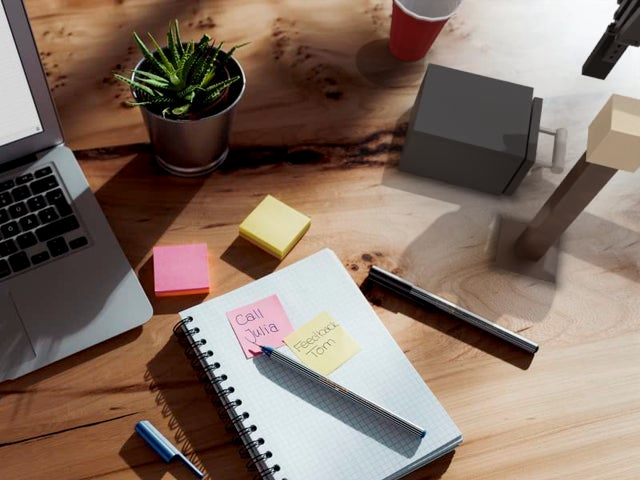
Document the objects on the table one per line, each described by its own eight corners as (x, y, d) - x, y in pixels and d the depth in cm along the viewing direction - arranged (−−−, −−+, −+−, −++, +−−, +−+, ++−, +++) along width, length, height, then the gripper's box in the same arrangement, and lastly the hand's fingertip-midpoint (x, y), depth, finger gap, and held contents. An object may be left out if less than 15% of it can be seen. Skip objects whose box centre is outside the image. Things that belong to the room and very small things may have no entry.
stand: (556, 237, 91) (649, 130, 71) (551, 286, 88) (648, 188, 68) (498, 222, 92) (575, 112, 72) (491, 270, 88) (569, 168, 69)
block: (635, 137, 71) (663, 104, 66) (633, 173, 69) (662, 142, 64) (588, 126, 71) (613, 92, 67) (585, 161, 69) (610, 129, 65)
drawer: (552, 144, 97) (578, 106, 90) (545, 205, 92) (572, 170, 85) (430, 114, 99) (446, 75, 92) (417, 172, 94) (433, 136, 87)
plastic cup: (394, 86, 103) (415, 23, 92) (361, 40, 107) (377, -26, 96) (453, 67, 105) (481, 3, 94) (418, 22, 109) (440, -44, 98)
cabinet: (506, 134, 99) (534, 87, 90) (496, 200, 94) (524, 157, 85) (411, 110, 101) (429, 62, 92) (395, 174, 95) (413, 129, 86)
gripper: (687, -177, 61) (565, 29, 82) (687, -93, 56) (557, 105, 77) (770, -160, 61) (626, 43, 82) (779, -74, 55) (622, 120, 76)
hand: (593, 73), depth 79 cm, fingers closed
